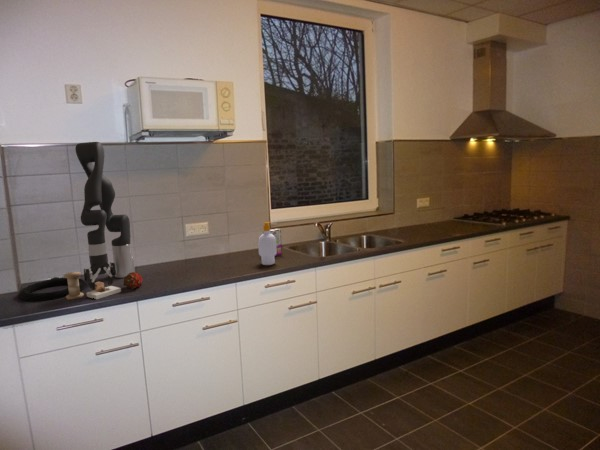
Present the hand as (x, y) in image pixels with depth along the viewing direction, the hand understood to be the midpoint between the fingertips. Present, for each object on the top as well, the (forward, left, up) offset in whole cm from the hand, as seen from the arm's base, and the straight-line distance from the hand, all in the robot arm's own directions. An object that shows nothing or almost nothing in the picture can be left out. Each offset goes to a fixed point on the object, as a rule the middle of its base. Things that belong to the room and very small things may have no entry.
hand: (101, 287), depth 188 cm
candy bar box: (-97, +27, -3) cm, 101 cm away
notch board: (0, +1, -3) cm, 3 cm away
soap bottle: (-79, +37, -3) cm, 87 cm away
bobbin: (+9, -7, -3) cm, 12 cm away
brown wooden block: (0, -3, -3) cm, 4 cm away
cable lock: (+9, -26, -4) cm, 28 cm away
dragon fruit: (-13, +5, -3) cm, 14 cm away
